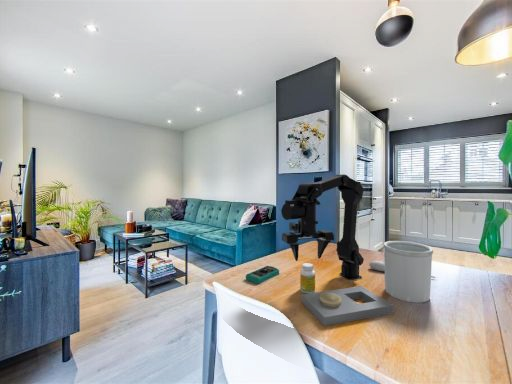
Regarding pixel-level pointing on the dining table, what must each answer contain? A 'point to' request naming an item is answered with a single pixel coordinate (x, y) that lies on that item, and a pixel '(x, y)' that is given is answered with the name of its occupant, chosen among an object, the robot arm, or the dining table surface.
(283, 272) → the dining table surface
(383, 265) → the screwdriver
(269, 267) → the digital multimeter
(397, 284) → the utensil holder
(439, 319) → the dining table surface
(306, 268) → the supplement bottle
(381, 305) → the plate
